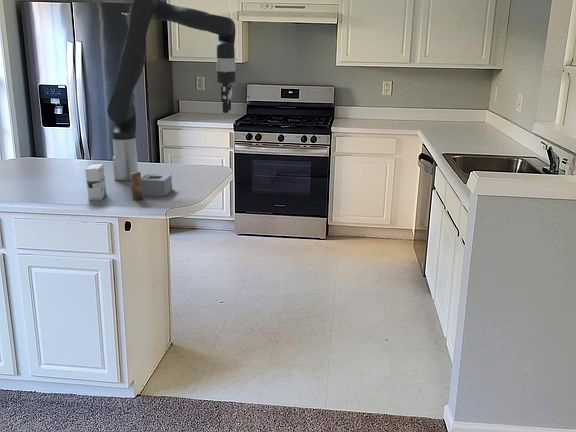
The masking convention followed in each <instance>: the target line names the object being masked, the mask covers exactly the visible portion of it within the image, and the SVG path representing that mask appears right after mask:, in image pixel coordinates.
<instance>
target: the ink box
mask: <svg viewBox="0 0 576 432" xmlns="http://www.w3.org/2000/svg"><path fill="white" fill-rule="evenodd" d="M85 178H86V186H87V187H86V188H87V197H88V198H87V199H88V200H89V201H96V200H100V201H101V200H103V199H104V197H105V196H106V195H107V188H106V187H107V186H106V177H105V168H104V164H103V163H97V164H90V165H89V166H87V167H86V168H85Z"/></svg>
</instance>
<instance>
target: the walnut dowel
mask: <svg viewBox="0 0 576 432" xmlns="http://www.w3.org/2000/svg"><path fill="white" fill-rule="evenodd" d="M130 174H131V180H130V183H131V196H132V200H133V201H142V200H143V196H142V184H141V178H142V175H141V172H140V171H138V172H131V173H130Z"/></svg>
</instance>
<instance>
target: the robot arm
mask: <svg viewBox="0 0 576 432" xmlns="http://www.w3.org/2000/svg"><path fill="white" fill-rule="evenodd" d="M130 7H131V8H130V16H129V17H130V18H129V23H128V30H127V32H126V37H125V41H124V44H123V48H122V51H121V55H120V58H119V59H120V61H119V65H118V69H117V73H116V80H115V84H114V89H113V91H112V94H111V96H110V99H109V102H108V106H107V109H106V110H107V117H109V119H110V121H112V122H113V123H114V128H113V130H112V133H111V137H112V138H111V139H112V146H113V156H112V166H113V167H112V169H113V176H114V177H113V178H114V180H117V181H124V182H125V181H131V174H130V173H131V172H139V165H138V163H139V162H138V154H137V153H138V152H137V142H136V141H137V140H136V132H137V115H136V114H137V113H136V108H135V105H134V103H133V102H132V101H131V100H132V99H131V98H132V94H133V92H134V89H135V88H136V85H137V84H138V82H139V80H140V78H141V76H142V73H143V70H144V69H145V68H144V67H145V63H146V58H147V34H148V30H149V27H150V24H151V20H156V21H167V22H172V23H175V24H178V25H181V26H184V27H187V28H190V29H194V30H198V31H203V32H208V33H212V34H215V35H218V37H217V38H218V39H217V40H218V42H217V44H216V67H215V68H216V83H220V84H222V86H221V87H220V92H221V93H220V97H221V99H220V101H221V103H222V113H224V114H228V113H229V111H232V99H233V93H232V92H233V85H232V84H234V83H236V82H237V77H236V76H237V75H236V73H237V71H236V59H235V56H236V55H235V50H236V49H235V42H236V41H235V40H236V24H235V22H234V20H233V19H232V18H230V17H227V16H222V15H217V14H211V13H209V12H206V11H203V10H198V9H195V8H190V7H183V6H178V5H175V4H170V3H168V2H165V1H163V0H132V2H131V6H130Z"/></svg>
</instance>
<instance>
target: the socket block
mask: <svg viewBox="0 0 576 432" xmlns="http://www.w3.org/2000/svg"><path fill="white" fill-rule="evenodd" d="M172 179H173V178H172V174H164V173H163V174H162V173H161V174H160V173H159V174H157V173H155V174H152V173H150V174H149V173H147V174H146V173H145V174H144V175H143V176H141V184H142V197H143V196H145V197H146V196H147V197H148V196H149V197H166V196H167V195H168V194H169V193H171V192H172V191H173V182H172V181H173V180H172Z"/></svg>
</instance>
